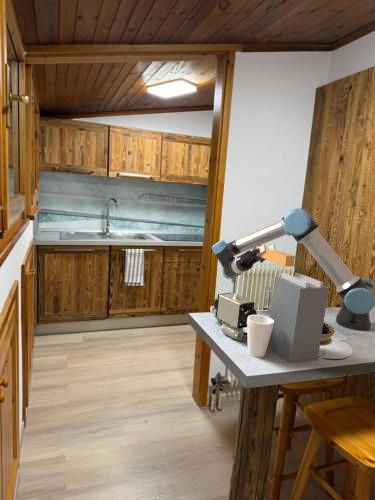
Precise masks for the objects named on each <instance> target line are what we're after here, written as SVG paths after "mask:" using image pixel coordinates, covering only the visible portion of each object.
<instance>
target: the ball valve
mask: <svg viewBox="0 0 375 500" xmlns="http://www.w3.org/2000/svg"><path fill="white" fill-rule="evenodd" d="M255 304H256V303H255V302H254V301H252V300H249V299H248V298H246V297H244V296H239V294H238V293H233V292H227V293H226V292H225V293H218V294H217V297H215V300H214V301H213V305H214V308H215V310H216V317H217V318H219V319H221V320H222V322H224V323H223V324H222V325H221V329H220V330H221V331H222V333H223V334H225V335H226V336H228V337H230V338H231V339H233V340H236V341H241V340H242V339H243V338H244V332H245V331H244V329H245V328H247V318H248V316H250V315H258V313H257V310H256V309H255V308H256V307H255Z"/></svg>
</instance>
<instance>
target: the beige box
mask: <svg viewBox="0 0 375 500" xmlns="http://www.w3.org/2000/svg"><path fill="white" fill-rule="evenodd" d="M209 309H210V312H211V313H212V314H214V318H215V319H216V320H217V321H216V322H217V323H218V324H222V323H223V320H221V319H219V318H217V317H216V310H215V308H214V304H213V305H212V306H210V308H209Z"/></svg>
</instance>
